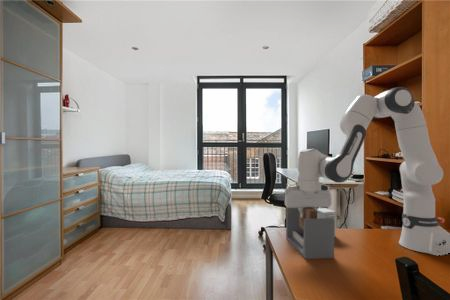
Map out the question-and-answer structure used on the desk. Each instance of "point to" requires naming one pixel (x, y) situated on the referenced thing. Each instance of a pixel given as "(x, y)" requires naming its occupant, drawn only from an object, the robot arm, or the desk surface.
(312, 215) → the door panel
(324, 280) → the desk surface
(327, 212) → the supplement box
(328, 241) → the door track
